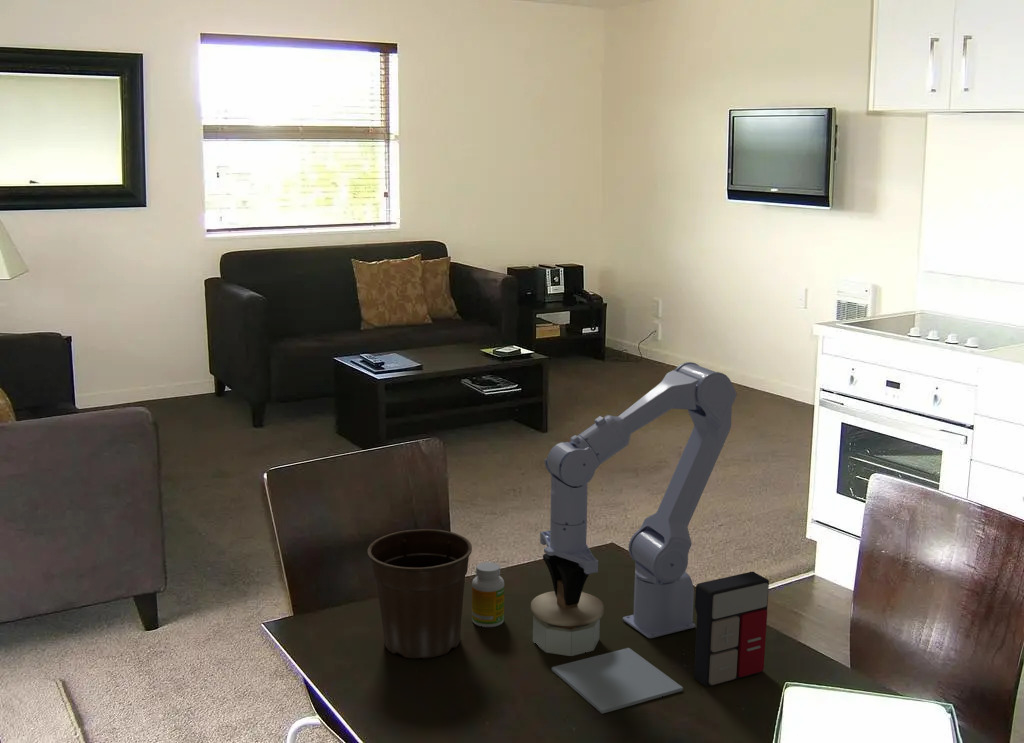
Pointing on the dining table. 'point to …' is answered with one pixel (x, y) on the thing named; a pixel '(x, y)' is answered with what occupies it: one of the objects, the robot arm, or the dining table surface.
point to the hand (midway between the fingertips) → (567, 600)
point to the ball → (566, 627)
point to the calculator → (730, 627)
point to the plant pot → (420, 589)
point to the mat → (616, 680)
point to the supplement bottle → (488, 595)
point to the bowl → (565, 638)
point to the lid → (566, 608)
